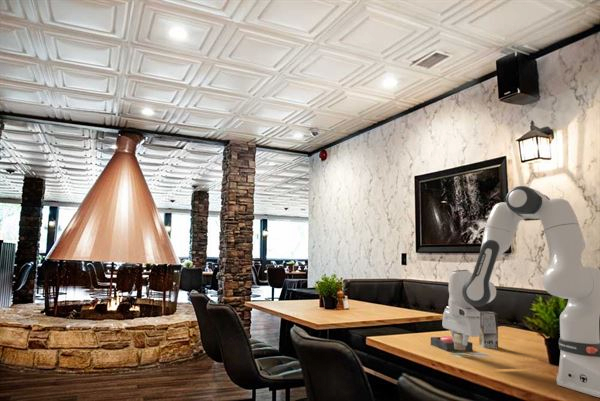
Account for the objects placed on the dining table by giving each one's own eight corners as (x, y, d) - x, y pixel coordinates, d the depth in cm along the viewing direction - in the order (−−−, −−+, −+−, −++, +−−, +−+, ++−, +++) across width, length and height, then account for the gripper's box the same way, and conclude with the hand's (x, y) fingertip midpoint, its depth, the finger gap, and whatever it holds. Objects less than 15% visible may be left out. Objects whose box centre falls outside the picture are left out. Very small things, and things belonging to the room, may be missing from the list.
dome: (466, 349, 179) (466, 340, 180) (448, 350, 177) (448, 340, 178) (453, 345, 188) (453, 336, 188) (436, 345, 186) (436, 336, 186)
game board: (495, 360, 167) (495, 349, 167) (461, 361, 163) (461, 349, 163) (458, 346, 190) (458, 336, 191) (427, 347, 186) (427, 337, 187)
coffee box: (498, 351, 184) (498, 314, 186) (483, 349, 186) (482, 312, 188) (493, 346, 193) (493, 311, 195) (479, 345, 195) (478, 310, 197)
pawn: (467, 350, 168) (467, 335, 169) (457, 350, 167) (457, 334, 168) (462, 347, 172) (462, 332, 173) (452, 347, 172) (452, 332, 173)
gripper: (438, 305, 181) (438, 338, 179) (468, 312, 161) (469, 349, 160) (451, 305, 183) (451, 338, 181) (482, 313, 163) (483, 349, 161)
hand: (459, 343), depth 170 cm, fingers closed on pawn, 4 cm apart
